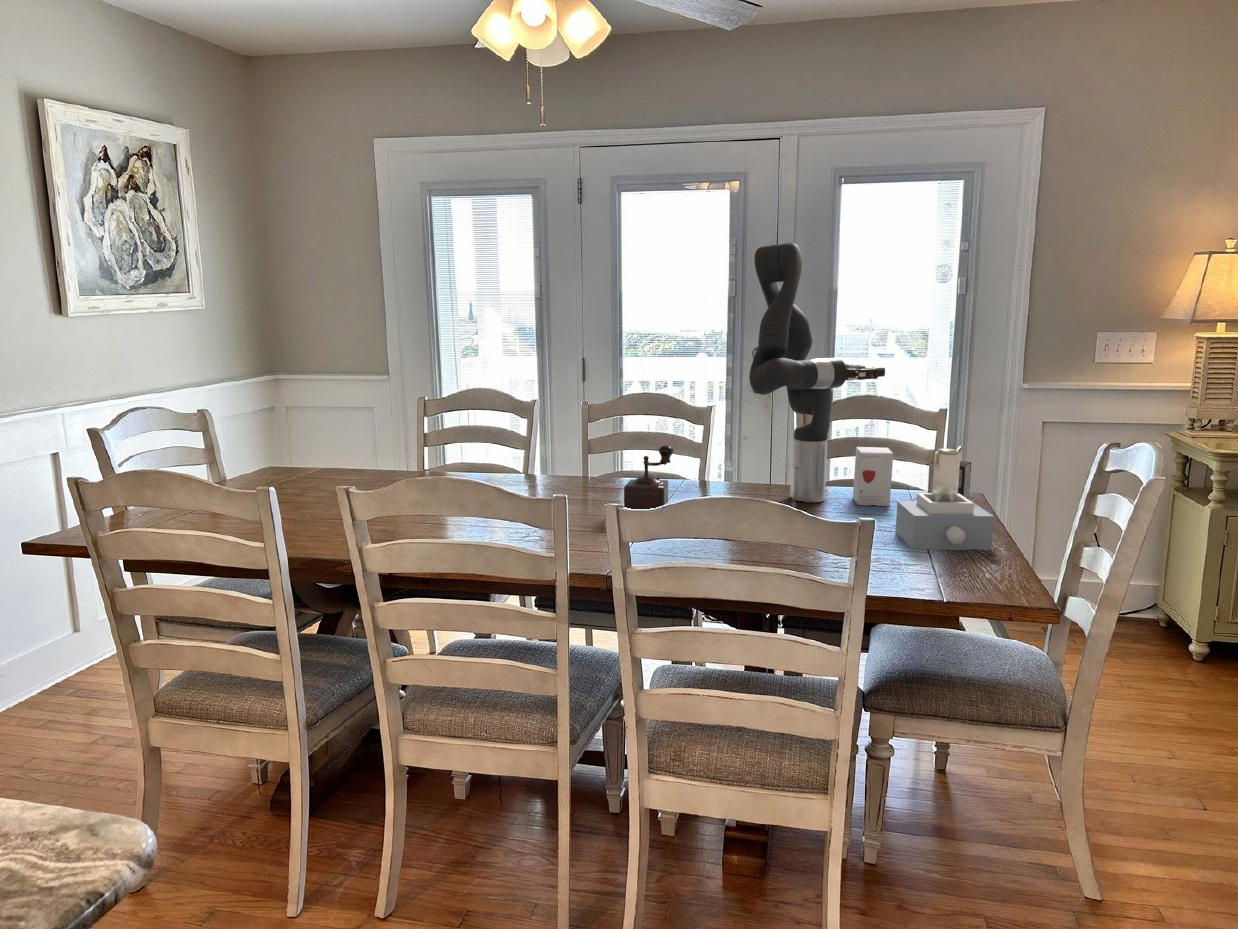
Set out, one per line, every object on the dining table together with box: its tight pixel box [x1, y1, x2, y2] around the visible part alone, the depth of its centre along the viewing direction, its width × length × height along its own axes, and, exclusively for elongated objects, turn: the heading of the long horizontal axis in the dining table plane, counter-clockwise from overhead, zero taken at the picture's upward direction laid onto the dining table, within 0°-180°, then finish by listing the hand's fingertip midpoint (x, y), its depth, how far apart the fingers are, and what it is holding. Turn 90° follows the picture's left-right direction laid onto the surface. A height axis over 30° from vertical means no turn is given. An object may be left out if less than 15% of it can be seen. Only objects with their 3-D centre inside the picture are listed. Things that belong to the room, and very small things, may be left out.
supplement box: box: [852, 446, 894, 507], centre depth 254 cm, size 9×9×15 cm
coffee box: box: [927, 459, 972, 500], centre depth 231 cm, size 9×6×16 cm
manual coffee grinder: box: [623, 445, 674, 509], centre depth 238 cm, size 16×11×18 cm
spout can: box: [932, 446, 963, 502], centre depth 214 cm, size 7×6×14 cm
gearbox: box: [894, 492, 995, 551], centre depth 215 cm, size 18×17×10 cm
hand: (871, 370), depth 234 cm, fingers open, 8 cm apart
